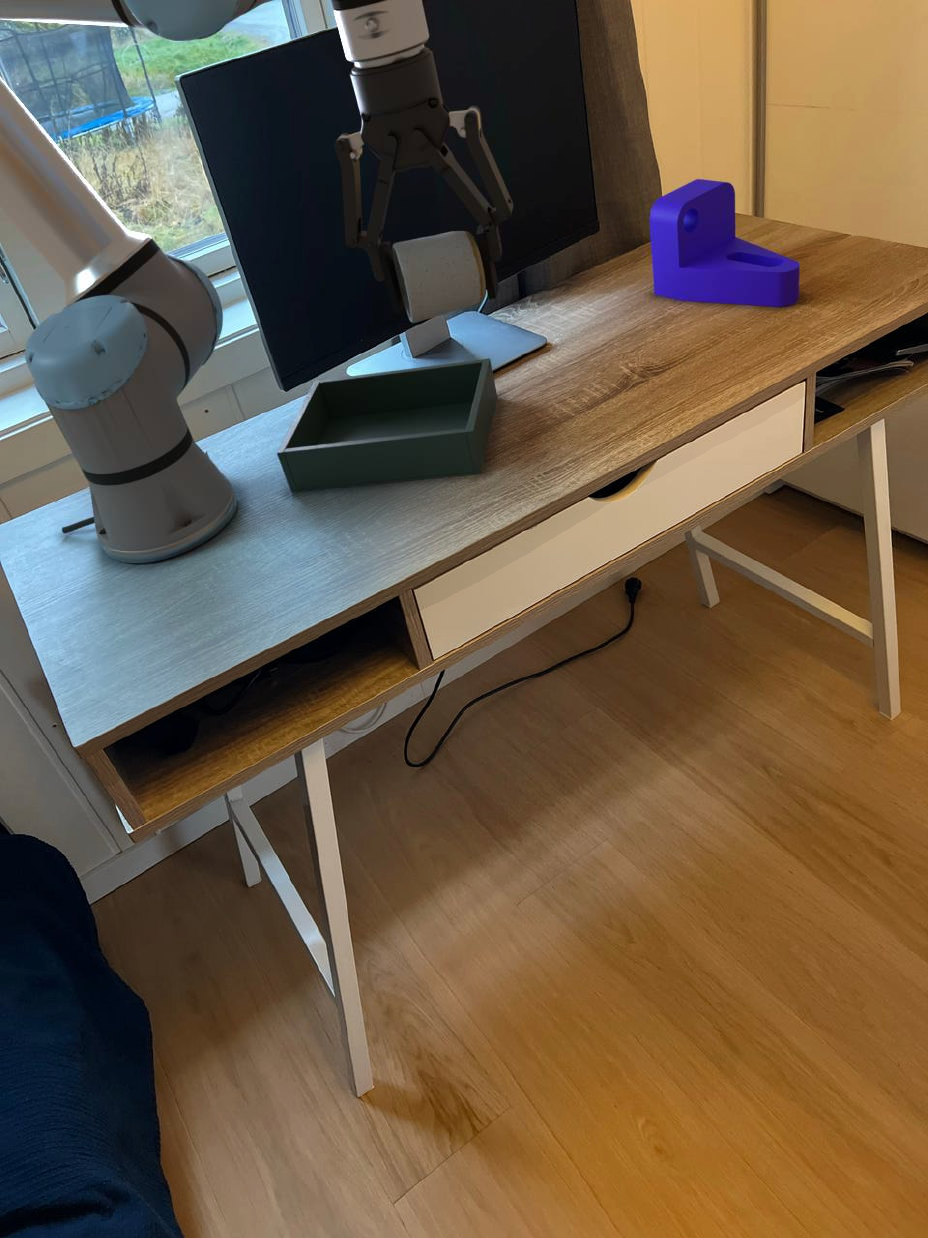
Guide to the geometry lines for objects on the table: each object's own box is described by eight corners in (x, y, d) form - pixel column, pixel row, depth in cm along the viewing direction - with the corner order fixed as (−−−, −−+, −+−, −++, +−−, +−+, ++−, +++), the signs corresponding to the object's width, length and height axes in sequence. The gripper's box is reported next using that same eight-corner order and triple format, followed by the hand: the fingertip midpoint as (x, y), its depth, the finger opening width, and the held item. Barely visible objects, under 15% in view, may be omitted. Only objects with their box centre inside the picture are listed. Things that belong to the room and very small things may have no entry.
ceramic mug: (494, 310, 92) (479, 231, 87) (416, 334, 92) (396, 256, 87) (470, 279, 100) (454, 206, 96) (398, 301, 100) (379, 228, 95)
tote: (291, 492, 102) (276, 453, 99) (326, 417, 115) (314, 380, 112) (482, 473, 98) (473, 431, 94) (497, 397, 110) (490, 358, 107)
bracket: (654, 294, 124) (648, 203, 116) (708, 263, 128) (706, 173, 120) (766, 320, 111) (767, 220, 104) (822, 285, 116) (827, 187, 108)
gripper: (262, 91, 81) (337, 332, 95) (508, 35, 76) (550, 299, 90) (285, 72, 87) (353, 303, 101) (516, 18, 82) (554, 269, 96)
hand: (446, 301), depth 96 cm, fingers closed on ceramic mug, 9 cm apart
